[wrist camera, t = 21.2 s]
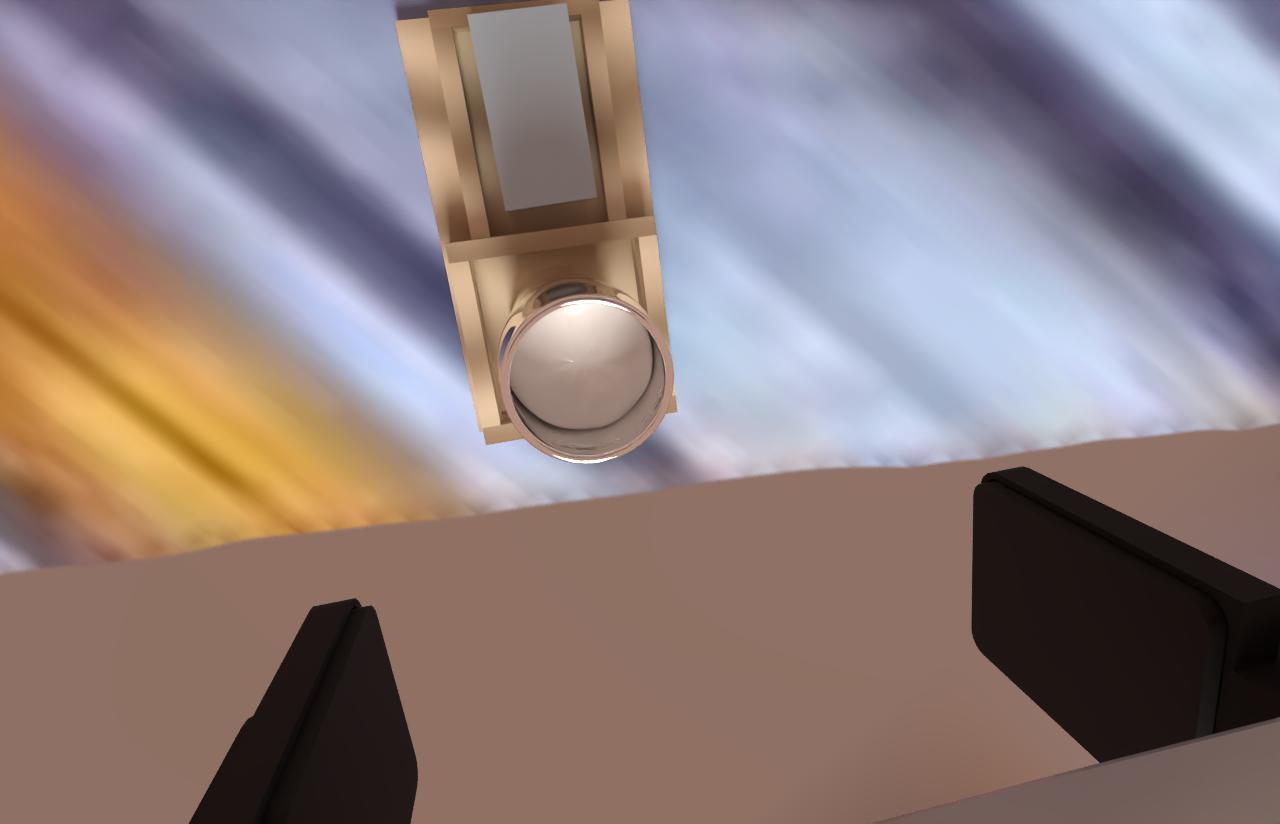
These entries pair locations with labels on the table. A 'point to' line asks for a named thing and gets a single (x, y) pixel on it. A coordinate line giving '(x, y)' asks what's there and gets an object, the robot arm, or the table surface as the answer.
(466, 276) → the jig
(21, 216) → the table surface
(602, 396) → the beer glass
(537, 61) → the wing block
